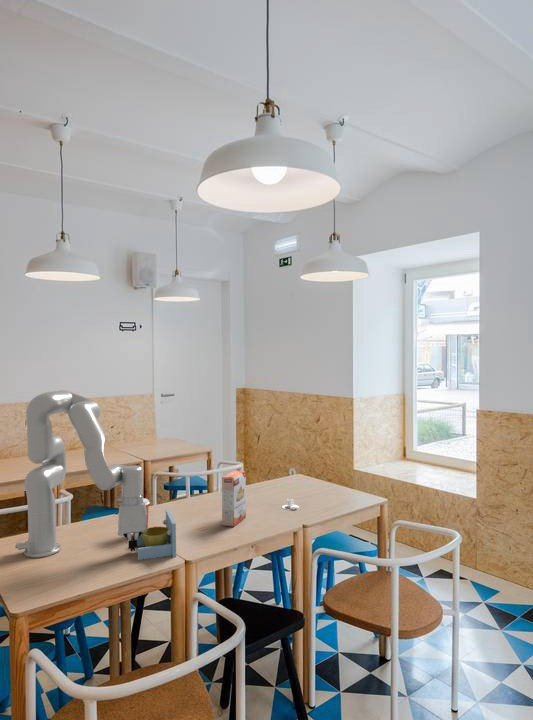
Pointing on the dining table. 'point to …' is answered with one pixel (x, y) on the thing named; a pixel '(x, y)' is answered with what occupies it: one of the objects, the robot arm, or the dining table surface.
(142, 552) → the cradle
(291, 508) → the white lobed knob
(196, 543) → the dining table surface
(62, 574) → the dining table surface
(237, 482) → the cracker box
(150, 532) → the flower pot
